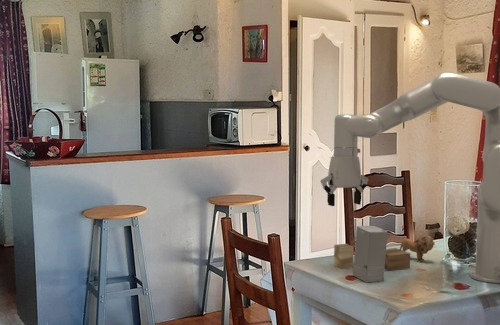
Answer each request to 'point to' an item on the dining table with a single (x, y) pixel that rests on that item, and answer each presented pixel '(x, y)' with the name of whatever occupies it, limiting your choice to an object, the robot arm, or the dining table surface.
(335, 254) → the oak block
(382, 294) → the dining table surface
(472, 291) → the dining table surface
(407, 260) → the walnut block
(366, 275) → the skincare box
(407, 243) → the lion figurine
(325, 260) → the dining table surface
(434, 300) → the dining table surface
